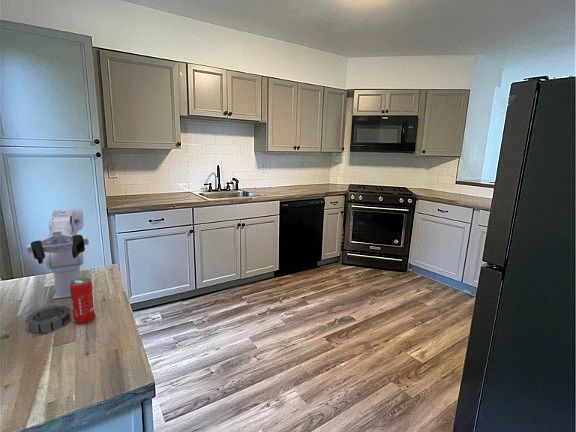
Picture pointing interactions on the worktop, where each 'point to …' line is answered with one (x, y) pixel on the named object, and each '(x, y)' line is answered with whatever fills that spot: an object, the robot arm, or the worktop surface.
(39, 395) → the worktop surface
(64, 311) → the collar ring
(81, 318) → the beverage can
